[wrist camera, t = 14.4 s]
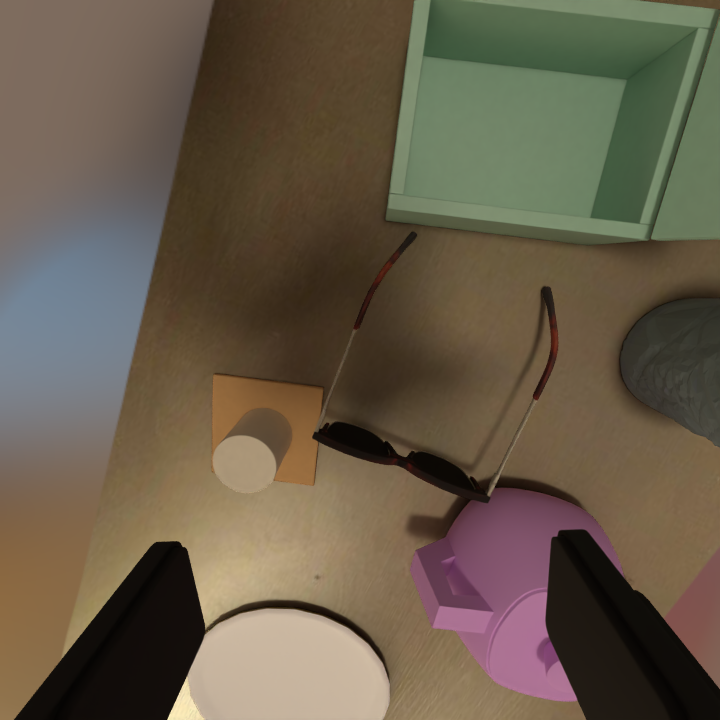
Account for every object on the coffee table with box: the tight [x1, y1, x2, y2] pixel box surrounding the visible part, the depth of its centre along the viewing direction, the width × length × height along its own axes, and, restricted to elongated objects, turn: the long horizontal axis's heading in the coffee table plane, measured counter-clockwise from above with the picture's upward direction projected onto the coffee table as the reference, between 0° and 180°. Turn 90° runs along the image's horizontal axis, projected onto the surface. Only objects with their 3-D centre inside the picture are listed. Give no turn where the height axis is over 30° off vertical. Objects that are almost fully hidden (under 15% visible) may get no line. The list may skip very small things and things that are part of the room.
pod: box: [213, 408, 292, 493], centre depth 28 cm, size 5×5×5 cm
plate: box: [187, 607, 390, 720], centre depth 38 cm, size 21×21×1 cm
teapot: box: [410, 488, 624, 701], centre depth 27 cm, size 13×20×11 cm, turn 76°
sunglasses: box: [312, 232, 558, 503], centre depth 27 cm, size 14×16×5 cm
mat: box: [212, 373, 324, 486], centre depth 31 cm, size 9×9×1 cm
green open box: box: [385, 0, 720, 245], centre depth 22 cm, size 15×11×6 cm
